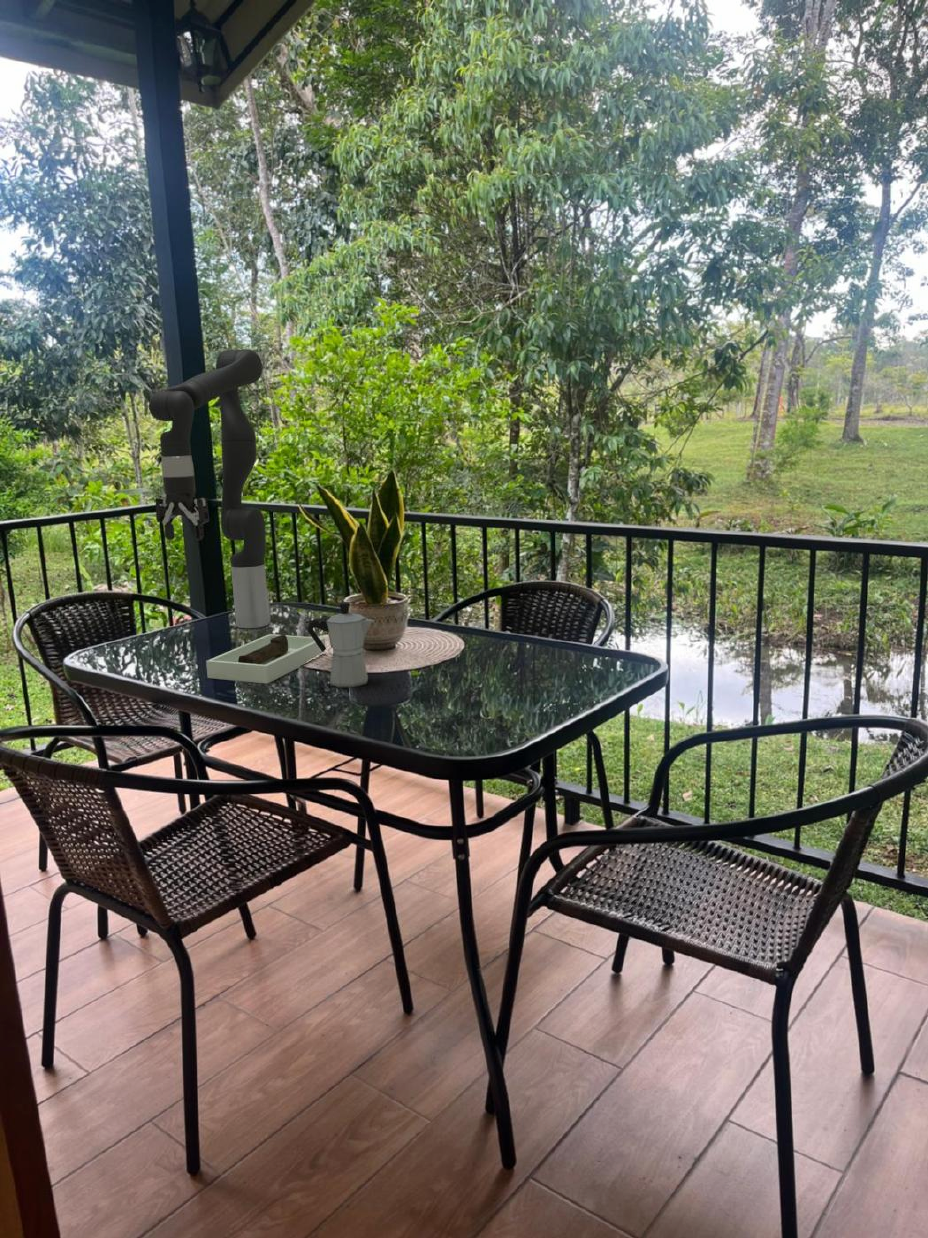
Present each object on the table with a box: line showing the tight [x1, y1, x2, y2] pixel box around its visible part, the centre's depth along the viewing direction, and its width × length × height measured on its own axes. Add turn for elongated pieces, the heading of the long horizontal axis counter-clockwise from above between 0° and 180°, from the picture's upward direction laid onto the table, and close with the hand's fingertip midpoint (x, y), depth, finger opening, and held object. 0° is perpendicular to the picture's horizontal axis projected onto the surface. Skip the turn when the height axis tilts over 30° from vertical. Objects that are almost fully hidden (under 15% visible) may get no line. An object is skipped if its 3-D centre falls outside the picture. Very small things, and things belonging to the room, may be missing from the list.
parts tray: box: [205, 633, 327, 684], centre depth 221 cm, size 26×16×4 cm, turn 159°
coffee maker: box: [306, 601, 375, 688], centre depth 204 cm, size 15×9×18 cm, turn 89°
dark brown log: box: [238, 634, 289, 664], centre depth 221 cm, size 19×4×5 cm, turn 157°
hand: (184, 539), depth 233 cm, fingers open, 8 cm apart
